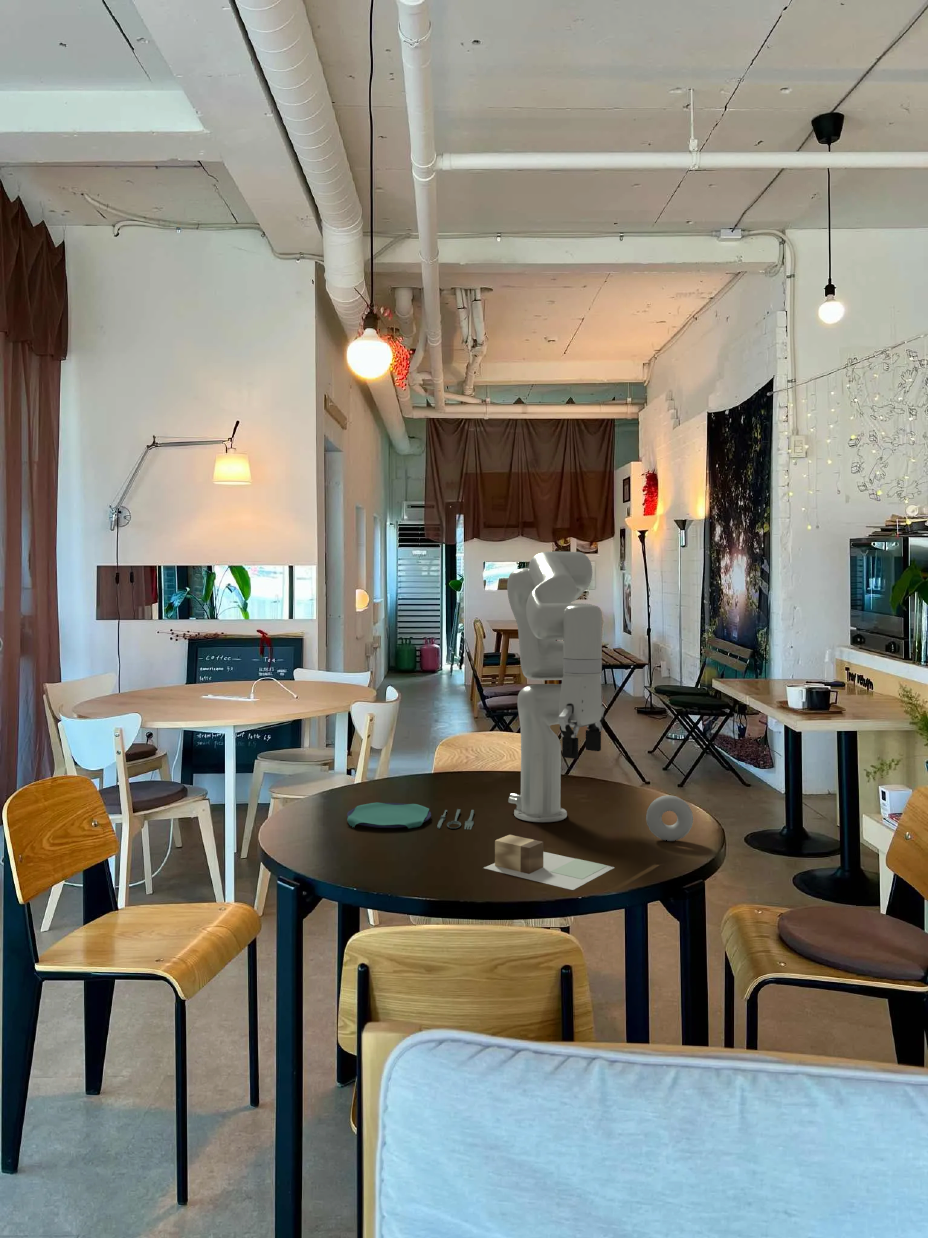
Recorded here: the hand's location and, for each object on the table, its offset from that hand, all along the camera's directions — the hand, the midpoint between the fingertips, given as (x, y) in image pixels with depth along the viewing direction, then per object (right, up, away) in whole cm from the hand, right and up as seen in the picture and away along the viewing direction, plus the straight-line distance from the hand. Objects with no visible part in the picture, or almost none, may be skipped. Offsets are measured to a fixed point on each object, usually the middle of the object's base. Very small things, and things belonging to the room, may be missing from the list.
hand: (582, 754), depth 174 cm
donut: (+21, -22, +17) cm, 35 cm away
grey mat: (-7, -22, -3) cm, 23 cm away
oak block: (-13, -22, -2) cm, 25 cm away
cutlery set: (-36, -21, +33) cm, 53 cm away
